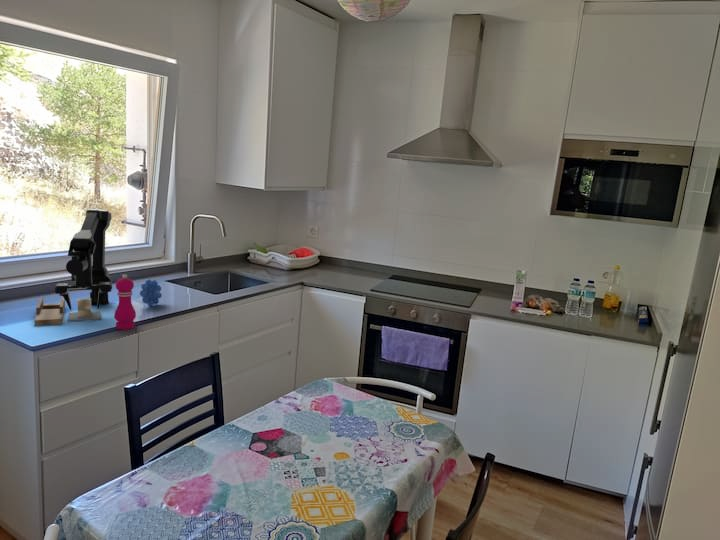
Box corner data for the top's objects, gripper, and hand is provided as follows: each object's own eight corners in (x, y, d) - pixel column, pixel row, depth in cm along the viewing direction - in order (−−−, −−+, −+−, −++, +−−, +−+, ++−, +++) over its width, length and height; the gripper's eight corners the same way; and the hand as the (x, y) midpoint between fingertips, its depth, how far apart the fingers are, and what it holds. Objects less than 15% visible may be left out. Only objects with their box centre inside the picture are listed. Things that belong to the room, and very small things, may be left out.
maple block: (91, 313, 202) (91, 298, 201) (91, 316, 198) (90, 301, 197) (78, 313, 200) (77, 298, 199) (78, 316, 196) (77, 301, 195)
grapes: (148, 310, 213) (148, 282, 211) (136, 308, 216) (135, 280, 214) (168, 305, 224) (168, 278, 222) (156, 302, 226) (156, 275, 224)
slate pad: (100, 312, 206) (100, 311, 206) (100, 319, 196) (100, 318, 196) (68, 314, 201) (68, 312, 201) (67, 321, 191) (67, 320, 191)
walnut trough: (65, 307, 209) (64, 296, 209) (61, 324, 188) (61, 312, 188) (40, 308, 205) (40, 297, 205) (34, 325, 185) (34, 313, 184)
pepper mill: (118, 323, 193) (118, 271, 190) (138, 324, 194) (138, 272, 190) (111, 329, 186) (110, 275, 183) (132, 330, 187) (131, 276, 183)
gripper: (110, 265, 207) (110, 303, 209) (56, 266, 198) (57, 305, 201) (110, 270, 197) (111, 310, 200) (54, 271, 188) (55, 313, 191)
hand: (84, 309), depth 198 cm, fingers open, 9 cm apart
